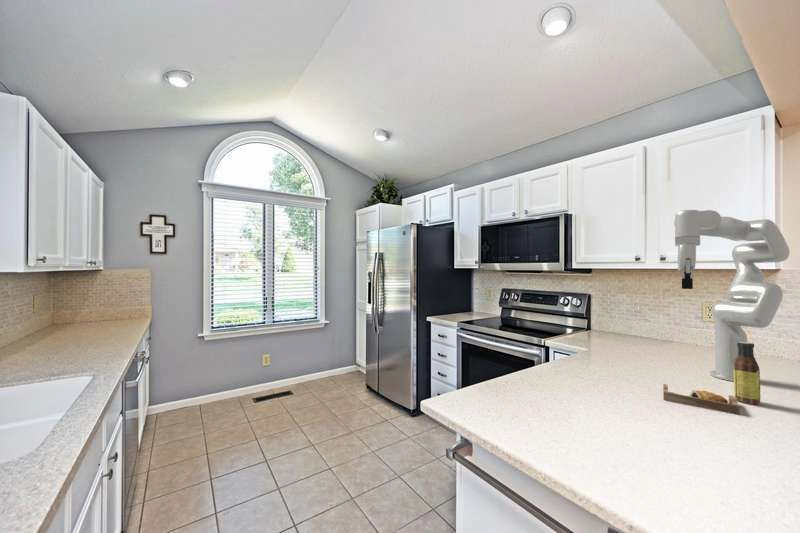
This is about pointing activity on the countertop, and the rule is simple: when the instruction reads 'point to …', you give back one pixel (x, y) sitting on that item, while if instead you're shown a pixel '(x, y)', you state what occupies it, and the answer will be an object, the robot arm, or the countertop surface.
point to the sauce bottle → (746, 375)
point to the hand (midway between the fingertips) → (687, 288)
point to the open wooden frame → (703, 402)
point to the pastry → (707, 396)
